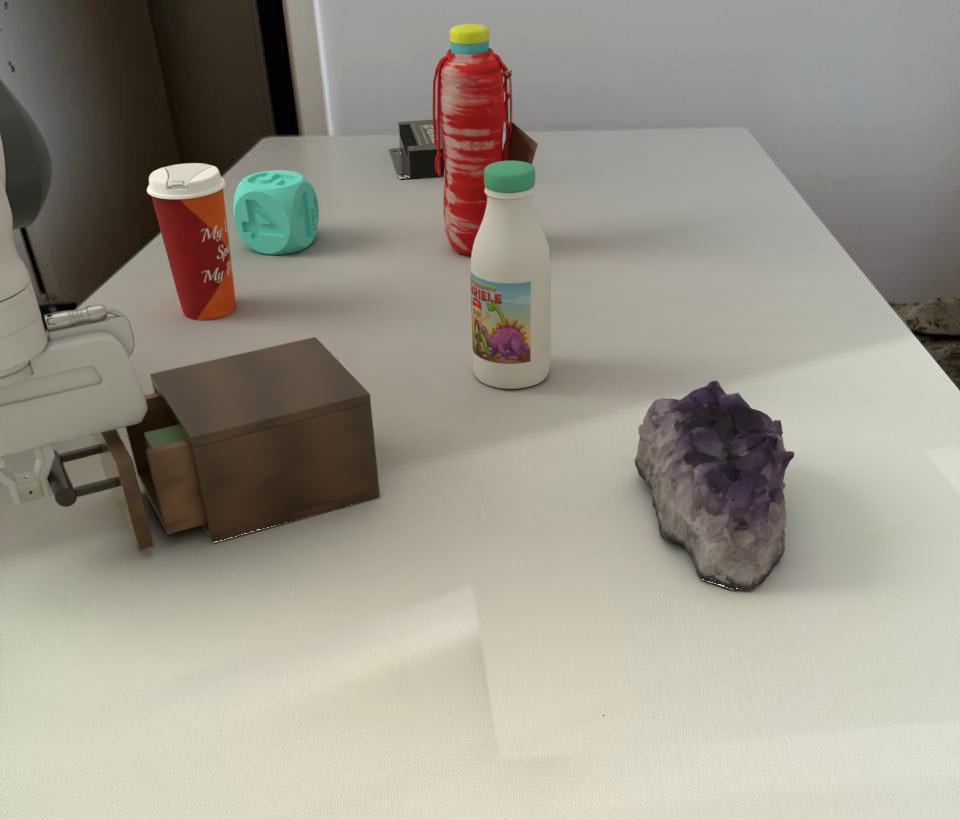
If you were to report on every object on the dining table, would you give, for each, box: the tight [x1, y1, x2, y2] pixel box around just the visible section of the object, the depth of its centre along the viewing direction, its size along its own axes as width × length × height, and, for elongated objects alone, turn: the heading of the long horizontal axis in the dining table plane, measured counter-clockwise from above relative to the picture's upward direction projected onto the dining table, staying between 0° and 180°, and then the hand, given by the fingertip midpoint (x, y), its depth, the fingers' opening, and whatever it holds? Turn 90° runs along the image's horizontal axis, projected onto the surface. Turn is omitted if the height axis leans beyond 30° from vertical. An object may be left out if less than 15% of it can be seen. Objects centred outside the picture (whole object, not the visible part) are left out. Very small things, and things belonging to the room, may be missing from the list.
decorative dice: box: [232, 169, 320, 256], centre depth 142 cm, size 8×8×8 cm
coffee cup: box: [146, 162, 236, 321], centre depth 124 cm, size 8×8×15 cm
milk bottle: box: [470, 161, 552, 390], centre depth 107 cm, size 8×8×20 cm
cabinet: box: [149, 336, 381, 543], centre depth 95 cm, size 15×13×10 cm
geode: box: [633, 380, 795, 591], centre depth 89 cm, size 20×12×10 cm, turn 6°
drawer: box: [46, 392, 207, 551], centre depth 92 cm, size 18×11×8 cm, turn 117°
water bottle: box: [432, 23, 539, 257], centre depth 134 cm, size 12×8×25 cm, turn 95°
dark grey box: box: [388, 118, 444, 179], centre depth 164 cm, size 20×14×17 cm
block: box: [144, 425, 187, 449], centre depth 93 cm, size 5×5×5 cm
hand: (32, 497), depth 89 cm, fingers closed
